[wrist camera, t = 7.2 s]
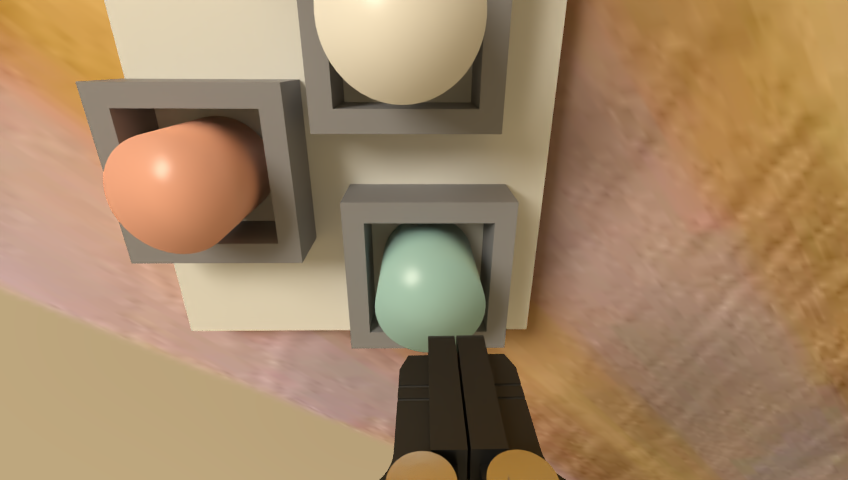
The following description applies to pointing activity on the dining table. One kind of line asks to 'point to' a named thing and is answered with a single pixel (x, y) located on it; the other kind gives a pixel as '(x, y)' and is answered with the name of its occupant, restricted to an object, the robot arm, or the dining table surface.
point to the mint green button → (428, 285)
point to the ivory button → (401, 44)
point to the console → (339, 158)
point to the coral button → (187, 182)
